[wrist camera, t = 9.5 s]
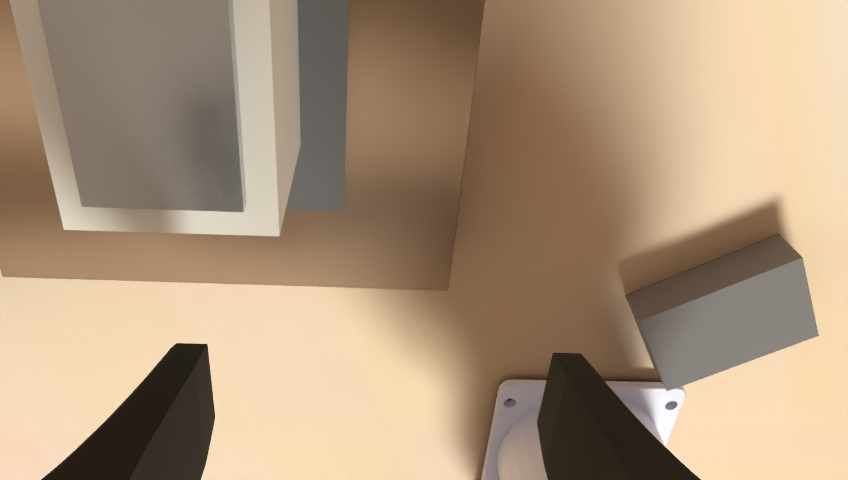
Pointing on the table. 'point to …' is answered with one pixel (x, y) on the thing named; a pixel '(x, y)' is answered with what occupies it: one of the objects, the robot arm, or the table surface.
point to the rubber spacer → (725, 312)
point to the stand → (315, 168)
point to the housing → (166, 111)
